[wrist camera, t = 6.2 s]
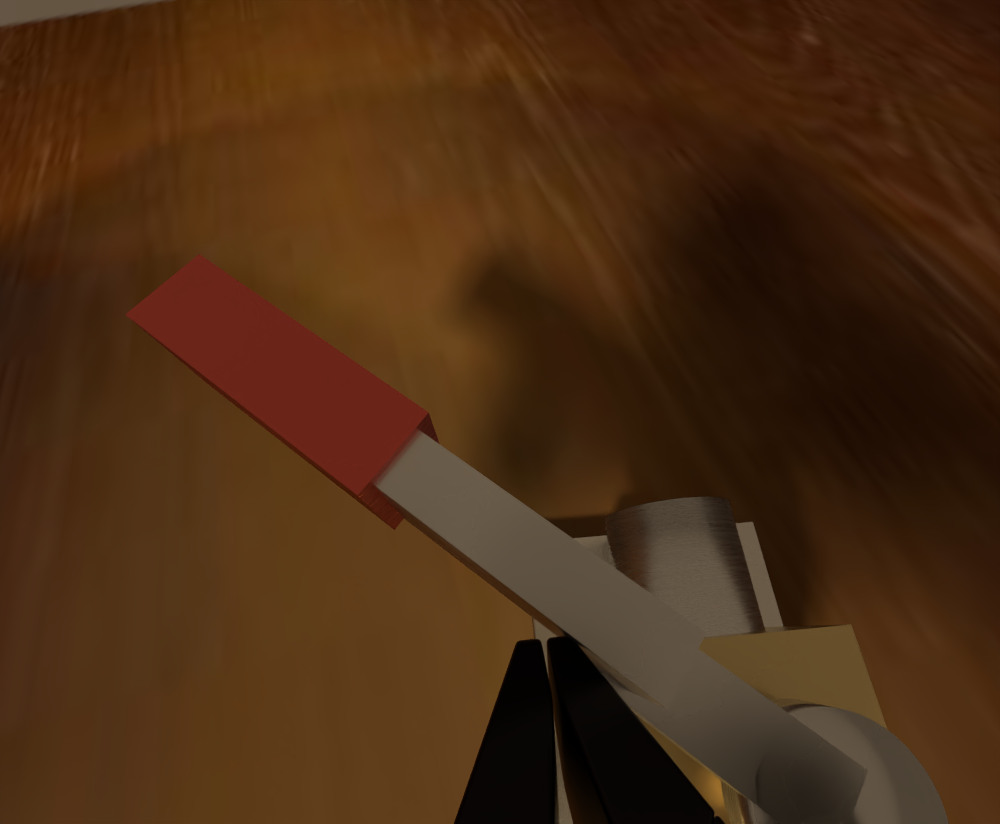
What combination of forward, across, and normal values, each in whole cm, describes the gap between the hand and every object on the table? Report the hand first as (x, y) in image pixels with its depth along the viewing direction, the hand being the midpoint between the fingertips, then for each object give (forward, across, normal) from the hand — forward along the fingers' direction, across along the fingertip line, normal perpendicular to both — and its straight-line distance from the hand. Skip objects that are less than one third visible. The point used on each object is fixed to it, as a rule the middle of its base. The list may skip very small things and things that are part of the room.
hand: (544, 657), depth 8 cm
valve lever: (+3, 0, +1) cm, 3 cm away
